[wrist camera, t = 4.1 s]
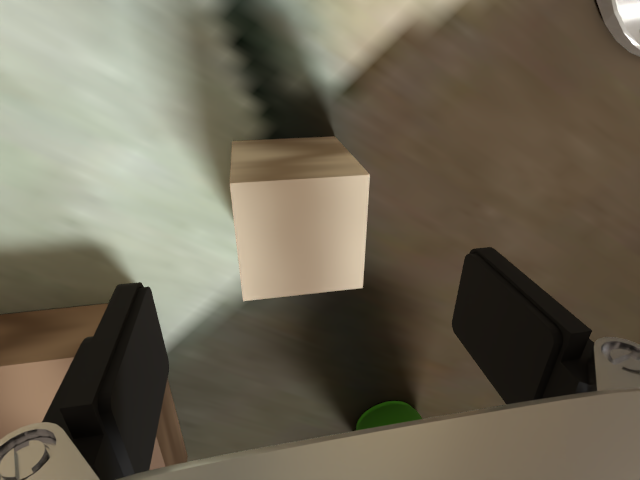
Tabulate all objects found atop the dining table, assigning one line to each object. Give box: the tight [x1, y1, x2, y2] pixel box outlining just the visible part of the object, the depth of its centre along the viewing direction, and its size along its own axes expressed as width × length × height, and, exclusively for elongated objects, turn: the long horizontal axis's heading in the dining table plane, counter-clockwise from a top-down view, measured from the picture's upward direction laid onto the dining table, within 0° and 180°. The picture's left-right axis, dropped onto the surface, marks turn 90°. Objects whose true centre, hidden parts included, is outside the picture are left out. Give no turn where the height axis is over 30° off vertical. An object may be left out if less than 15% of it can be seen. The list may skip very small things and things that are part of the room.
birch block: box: [230, 136, 370, 301], centre depth 18 cm, size 5×5×6 cm
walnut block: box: [0, 303, 188, 470], centre depth 22 cm, size 14×14×4 cm
